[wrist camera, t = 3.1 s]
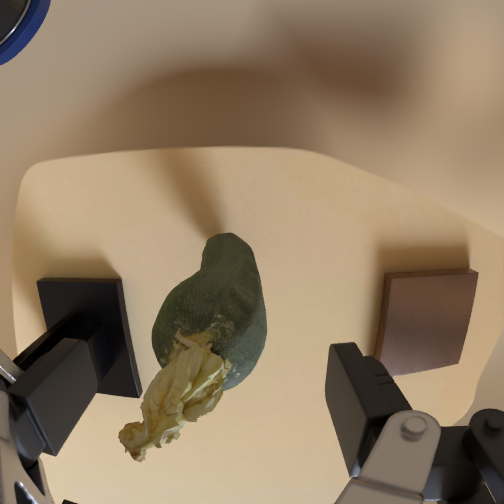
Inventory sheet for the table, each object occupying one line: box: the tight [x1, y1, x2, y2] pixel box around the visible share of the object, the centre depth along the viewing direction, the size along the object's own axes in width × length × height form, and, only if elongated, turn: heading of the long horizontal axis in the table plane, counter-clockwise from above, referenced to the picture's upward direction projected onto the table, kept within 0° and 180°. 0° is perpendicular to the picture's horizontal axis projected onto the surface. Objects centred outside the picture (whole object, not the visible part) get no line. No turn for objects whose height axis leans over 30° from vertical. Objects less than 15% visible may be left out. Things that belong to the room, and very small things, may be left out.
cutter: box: [0, 278, 143, 398], centre depth 21 cm, size 12×9×12 cm
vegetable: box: [118, 233, 267, 462], centre depth 16 cm, size 4×4×20 cm
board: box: [374, 269, 478, 377], centre depth 26 cm, size 10×10×2 cm
